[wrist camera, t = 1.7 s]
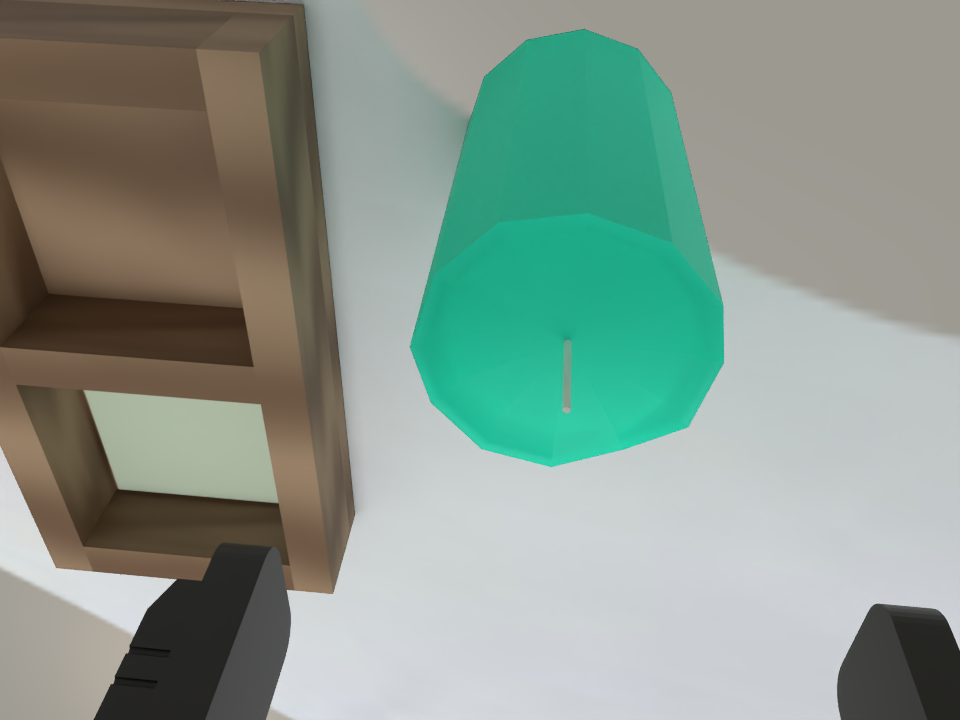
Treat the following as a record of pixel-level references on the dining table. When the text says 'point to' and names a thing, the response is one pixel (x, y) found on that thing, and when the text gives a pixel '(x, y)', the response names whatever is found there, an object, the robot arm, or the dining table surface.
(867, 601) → the dining table surface
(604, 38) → the candle
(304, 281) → the slot rack
